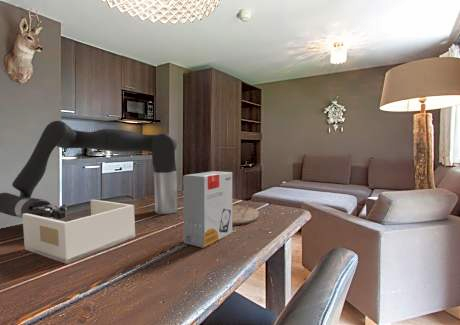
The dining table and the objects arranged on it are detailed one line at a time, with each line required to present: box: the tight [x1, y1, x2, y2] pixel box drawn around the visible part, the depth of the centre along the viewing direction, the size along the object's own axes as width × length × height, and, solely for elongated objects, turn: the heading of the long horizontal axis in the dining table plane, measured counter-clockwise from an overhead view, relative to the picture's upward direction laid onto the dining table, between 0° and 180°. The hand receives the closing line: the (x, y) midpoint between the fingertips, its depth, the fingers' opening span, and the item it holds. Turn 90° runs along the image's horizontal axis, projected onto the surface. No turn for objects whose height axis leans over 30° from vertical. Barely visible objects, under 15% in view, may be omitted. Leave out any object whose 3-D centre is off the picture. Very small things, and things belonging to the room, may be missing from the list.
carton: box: [22, 199, 136, 265], centre depth 77 cm, size 20×21×10 cm
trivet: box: [232, 204, 260, 227], centre depth 104 cm, size 25×25×2 cm
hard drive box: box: [182, 170, 233, 249], centre depth 79 cm, size 16×8×20 cm, turn 148°
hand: (62, 215), depth 82 cm, fingers closed
